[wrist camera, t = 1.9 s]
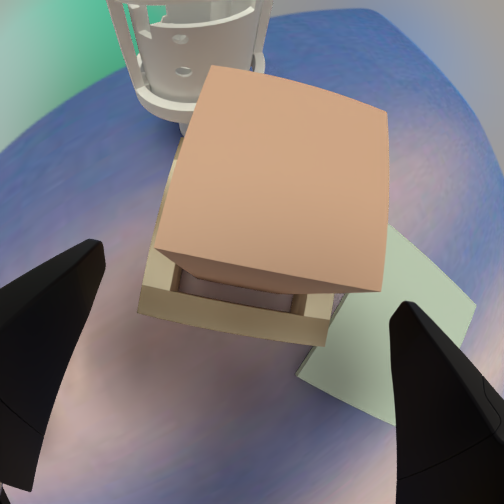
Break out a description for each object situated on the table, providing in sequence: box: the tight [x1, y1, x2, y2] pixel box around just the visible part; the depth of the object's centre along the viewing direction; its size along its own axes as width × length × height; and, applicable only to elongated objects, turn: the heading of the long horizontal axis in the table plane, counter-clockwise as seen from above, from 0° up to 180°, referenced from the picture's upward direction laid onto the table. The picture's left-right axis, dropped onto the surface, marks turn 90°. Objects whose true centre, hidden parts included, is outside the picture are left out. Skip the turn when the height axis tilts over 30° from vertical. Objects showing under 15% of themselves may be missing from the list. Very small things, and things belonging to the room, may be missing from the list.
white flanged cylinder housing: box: [106, 0, 273, 137], centre depth 12 cm, size 7×7×15 cm
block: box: [154, 65, 389, 294], centre depth 12 cm, size 5×5×12 cm
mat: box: [295, 224, 476, 426], centre depth 18 cm, size 12×12×1 cm
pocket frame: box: [137, 137, 334, 347], centre depth 17 cm, size 10×10×3 cm
